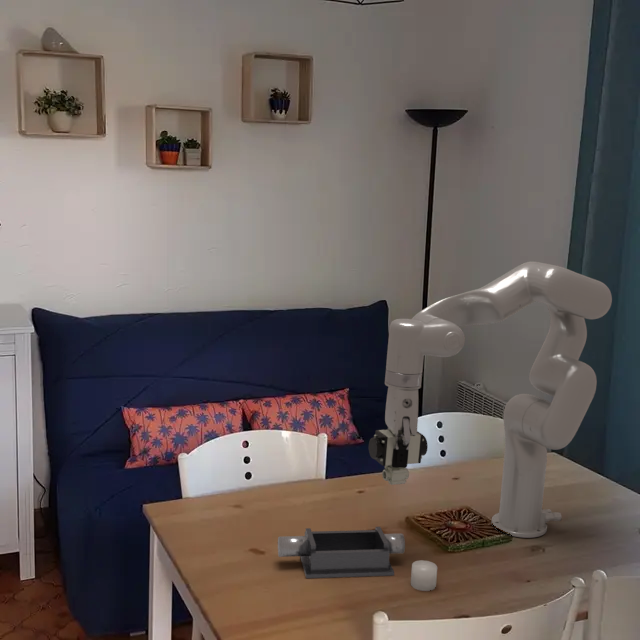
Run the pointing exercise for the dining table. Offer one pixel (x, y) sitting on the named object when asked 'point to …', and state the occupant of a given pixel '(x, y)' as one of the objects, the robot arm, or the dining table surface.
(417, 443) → the pneumatic valve
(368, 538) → the pipe bracket
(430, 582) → the end cap
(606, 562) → the dining table surface
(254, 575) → the dining table surface
